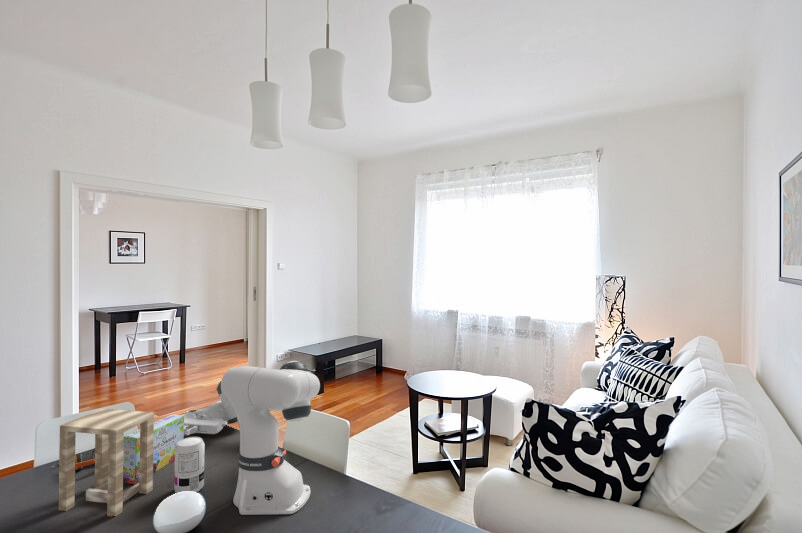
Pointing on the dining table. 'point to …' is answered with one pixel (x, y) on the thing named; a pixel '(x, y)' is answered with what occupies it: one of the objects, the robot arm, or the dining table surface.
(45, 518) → the dining table surface
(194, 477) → the supplement can
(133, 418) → the footstool
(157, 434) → the snack box
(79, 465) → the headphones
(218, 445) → the dining table surface
